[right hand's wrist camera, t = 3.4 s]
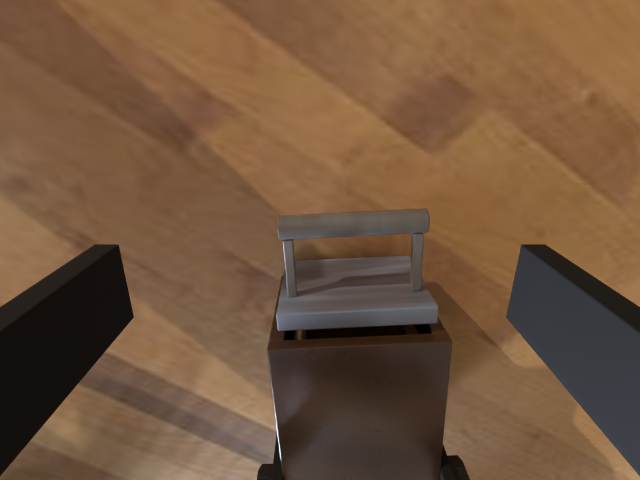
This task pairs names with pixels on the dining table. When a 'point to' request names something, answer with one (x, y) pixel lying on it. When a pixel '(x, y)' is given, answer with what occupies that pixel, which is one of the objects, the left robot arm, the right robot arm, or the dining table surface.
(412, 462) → the cabinet
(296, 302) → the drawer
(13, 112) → the dining table surface
